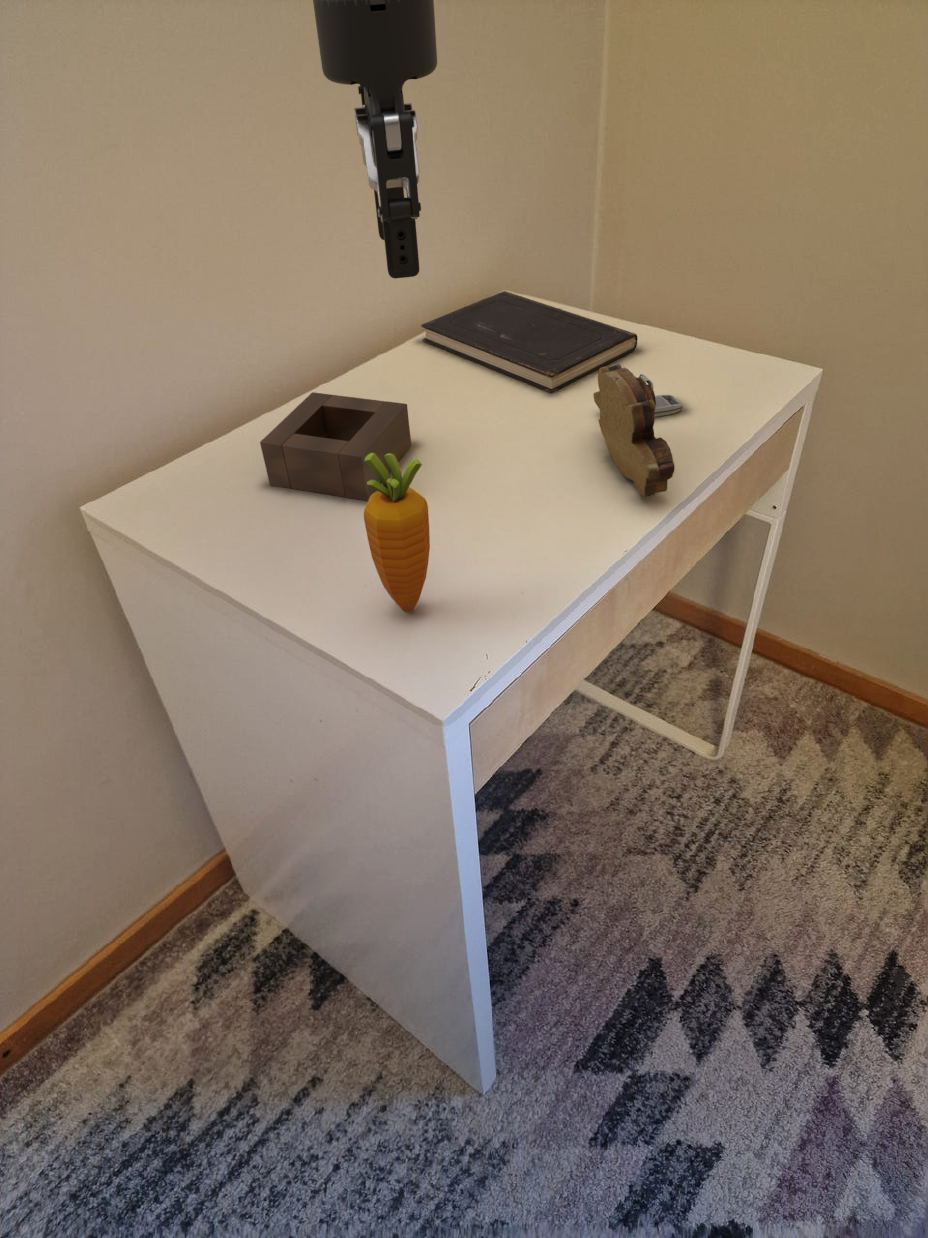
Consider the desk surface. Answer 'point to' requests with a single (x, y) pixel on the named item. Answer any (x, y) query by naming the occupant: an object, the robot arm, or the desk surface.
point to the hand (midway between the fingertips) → (398, 256)
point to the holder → (335, 444)
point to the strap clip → (664, 402)
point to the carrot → (398, 530)
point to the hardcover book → (529, 340)
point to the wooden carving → (633, 429)
